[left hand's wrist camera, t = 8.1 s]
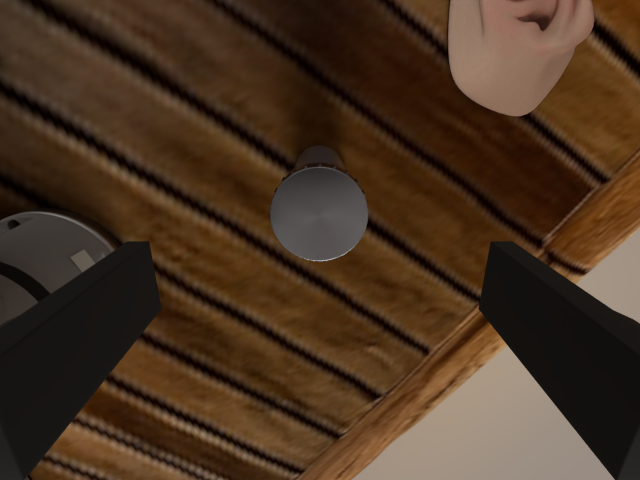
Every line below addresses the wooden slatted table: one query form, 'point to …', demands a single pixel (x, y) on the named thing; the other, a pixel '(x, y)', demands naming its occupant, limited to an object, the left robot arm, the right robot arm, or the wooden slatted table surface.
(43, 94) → the wooden slatted table surface
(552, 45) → the anatomical model
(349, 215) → the lid
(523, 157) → the wooden slatted table surface
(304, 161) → the jar
